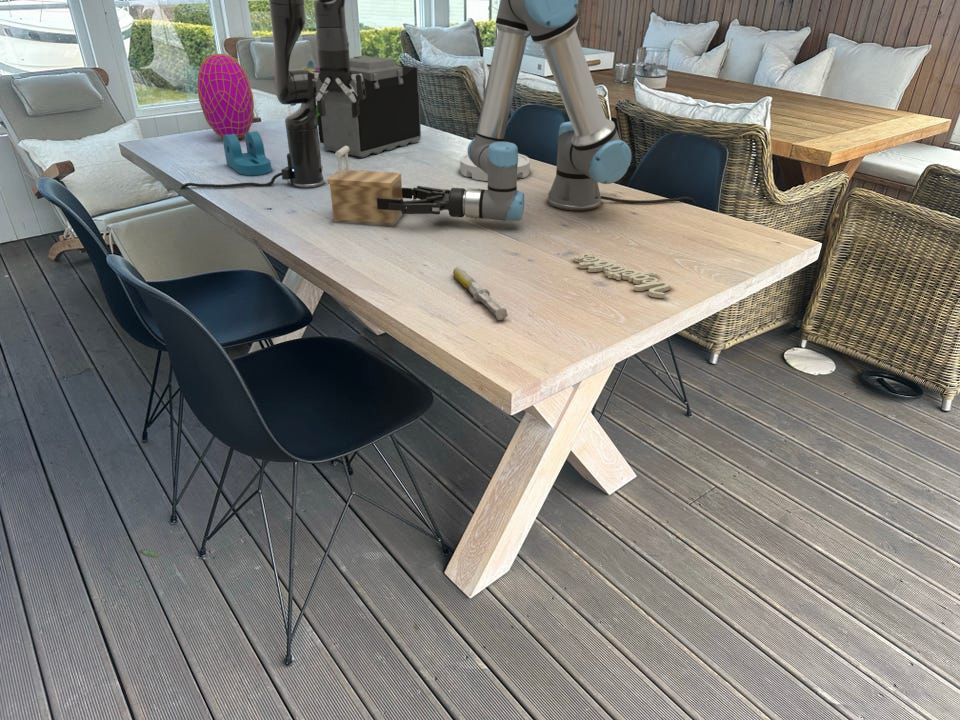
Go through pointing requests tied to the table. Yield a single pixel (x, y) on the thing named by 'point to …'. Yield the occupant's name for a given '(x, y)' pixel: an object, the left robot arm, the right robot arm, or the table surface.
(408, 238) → the table surface
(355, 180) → the lid
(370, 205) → the chest
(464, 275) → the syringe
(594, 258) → the decorative sign
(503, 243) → the table surface
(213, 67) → the decorative egg
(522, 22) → the right robot arm
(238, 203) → the table surface
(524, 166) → the ashtray
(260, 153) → the camera mount
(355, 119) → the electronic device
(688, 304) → the table surface
